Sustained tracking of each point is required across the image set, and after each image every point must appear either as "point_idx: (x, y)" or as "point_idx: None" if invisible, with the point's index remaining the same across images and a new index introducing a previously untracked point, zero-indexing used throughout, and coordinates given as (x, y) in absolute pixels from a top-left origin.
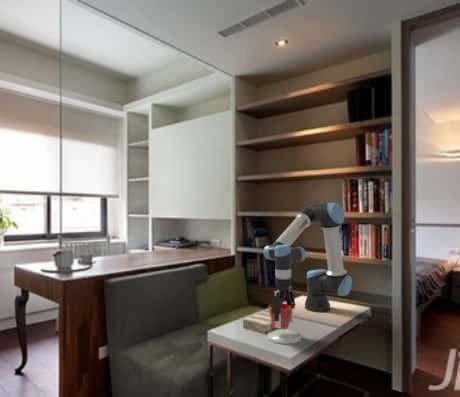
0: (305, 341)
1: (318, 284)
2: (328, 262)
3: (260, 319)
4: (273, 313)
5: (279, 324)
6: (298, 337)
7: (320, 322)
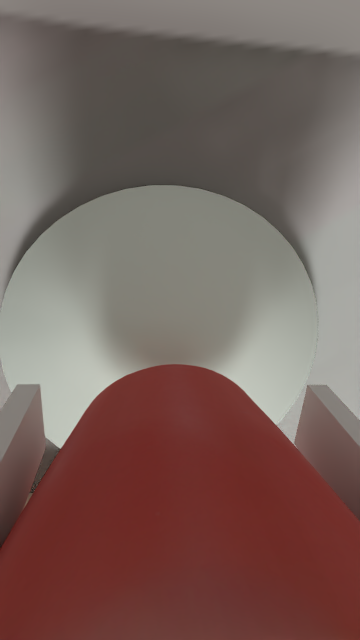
0: (126, 130)
1: None
2: None
3: None
4: None
5: (351, 420)
6: (129, 219)
7: None
